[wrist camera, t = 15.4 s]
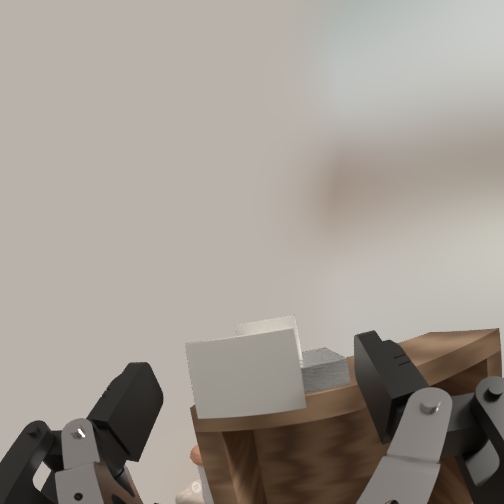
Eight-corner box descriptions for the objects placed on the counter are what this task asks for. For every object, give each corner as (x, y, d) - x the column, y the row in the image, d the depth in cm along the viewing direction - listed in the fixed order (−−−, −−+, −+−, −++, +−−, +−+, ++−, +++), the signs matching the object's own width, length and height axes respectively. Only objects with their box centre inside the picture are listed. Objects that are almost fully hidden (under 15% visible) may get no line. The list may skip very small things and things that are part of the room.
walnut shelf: (428, 509, 19) (430, 332, 28) (462, 550, 6) (499, 328, 15) (266, 549, 21) (229, 377, 30) (255, 605, 8) (190, 408, 17)
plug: (298, 351, 29) (293, 317, 30) (323, 404, 8) (306, 296, 9) (253, 358, 30) (248, 325, 31) (183, 418, 9) (167, 318, 10)
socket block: (327, 364, 28) (325, 347, 28) (350, 384, 17) (346, 358, 17) (230, 380, 28) (227, 363, 29) (198, 406, 18) (193, 381, 18)
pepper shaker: (252, 510, 34) (235, 434, 39) (239, 530, 27) (218, 450, 33) (218, 507, 36) (199, 433, 41) (202, 524, 29) (178, 446, 35)
